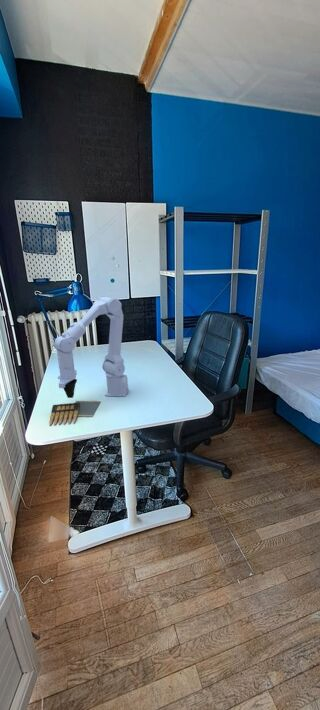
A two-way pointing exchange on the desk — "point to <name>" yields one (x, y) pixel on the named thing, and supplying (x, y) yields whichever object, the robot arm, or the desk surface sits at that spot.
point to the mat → (87, 408)
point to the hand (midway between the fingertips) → (70, 397)
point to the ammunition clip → (64, 413)
